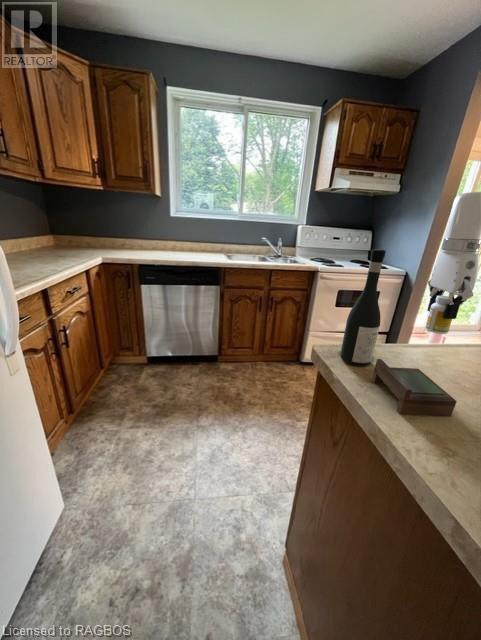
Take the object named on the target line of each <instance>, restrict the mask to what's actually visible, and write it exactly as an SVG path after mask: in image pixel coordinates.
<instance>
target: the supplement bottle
mask: <svg viewBox="0 0 481 640" xmlns="http://www.w3.org/2000/svg"><path fill="white" fill-rule="evenodd" d="M455 298H456V297H454V299H455ZM446 304H449V295H443V296H437V297H436V303H434V304H432V305H431V308H430V311H428V315H427V319H426V322H425V327H424V329H425V331H428V332H430V333H433V334H437V335H446V334H449V331H450V328H451V326H452V325H451V324H452V321H453V319H444V318H443V313H444V310H445V306H446Z"/></svg>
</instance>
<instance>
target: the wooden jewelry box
mask: <svg viewBox="0 0 481 640" xmlns="http://www.w3.org/2000/svg"><path fill="white" fill-rule="evenodd" d="M370 383H371V384H382V385H385V386H386V387H387V388H388V389H389V390H390V391H391V393H392V394H394V396H395V397H396V398H397V399H398V400H399V401H398V403H397V408H396V412H397V413H398V415H400V416H418V417H419V416H420V417H421V416H422V417H443V418H445V417H446V418H451V417H452V415H453V413H454V410H455V408H456V404H457V401H458V400H456V399H455V398H454V397H453V396H451V395H450V394H449V393H448V392H447V391H445V390H444V389H443V388H442V387H441V386H439V385H438V384H437V383H436V382H435V381H434V380H433V379H432V378H430V377H429V376H428V375H427V374H425V372H424V371H422V370H421V369H419V368H415V367H413V368H412V367H392V366H389V365H388V364H387V363H386V362H385V361H384V360H383V359H382V358H376V362H375V366H374V369H373V374H372V378H371V382H370Z"/></svg>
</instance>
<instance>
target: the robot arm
mask: <svg viewBox="0 0 481 640" xmlns="http://www.w3.org/2000/svg"><path fill="white" fill-rule="evenodd" d="M480 248H481V191H471V192H464V193H463V192H462V193H459V194H458V195H456V197H455V198H454V200H453V202H452V207H451V211H450V214H449V217H448V221H447V226H446V229H445V233H444V236H443V241H442V244H441V248H440V252H439V254H438V256H437V259H436V261H435V264H434V267H433V270H432V273H431V276H430V279H429V280H428V281H427V285H428V287H429V292H430V294H429V297H430V298H429V301H428V305H427V309H426V311H427V312H429V311H430V308H431V305H432V304H434V303H436V297H437V296H444V294H445V293H448V296H449V304H446V306H445V310H444V313H443V318H444V319H452V320H456V319H457V316H458V313H459V310H460V307H461V306H462V305H463V304H464V303H465V302H466V301H468V300H469V299H471V298H472V297H474V292H473V291H474V289H475V285H476V282H477V279H478V278H477V277H478V273H479V269H480V256H481V254H480V253H479V251H480ZM454 298H455V299H454Z"/></svg>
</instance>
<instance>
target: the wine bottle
mask: <svg viewBox="0 0 481 640" xmlns="http://www.w3.org/2000/svg"><path fill="white" fill-rule="evenodd" d="M386 252H387V251H386V250H385V249H378V248H374V249H372V250H371V252H370V253H371V254H370V261H369V266H368V271H367V276H366V280H365V285H364V287H363V290H362V292H361V293H360V295H359V297H358V299H357V300H356V301H355V303H354V304H353V306H352V307H351V309H350V311H349V313H348V316H347V319H346V323H345V328H344V334H343V339H342V344H341V349H340V358H341V359H342V361H343V362H345V363H347V364H348V365H351V366H355V367H366V366H368V365H370V364H371V363H372V360H373V356H374V352H375V348H376V344H377V340H378V337H379V336H378V335H379V331H380V327H381V319H382V318H381V310H380V305H379V304H380V303H379V299H378V284H379V280H380V276H381V270H382V266H383V263H384V258H386V257H385V256H386Z"/></svg>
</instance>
